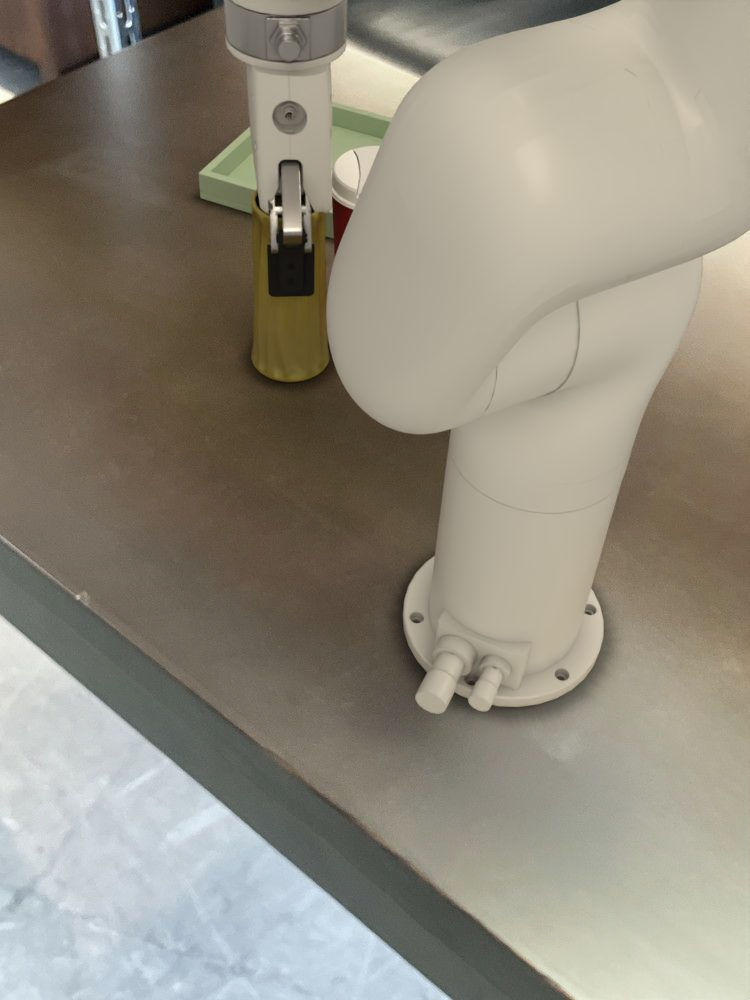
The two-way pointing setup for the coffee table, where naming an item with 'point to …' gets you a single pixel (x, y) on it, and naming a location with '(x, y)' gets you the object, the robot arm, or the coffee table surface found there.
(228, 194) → the tray
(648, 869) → the coffee table surface
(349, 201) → the paper cup
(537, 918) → the coffee table surface
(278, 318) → the vase
